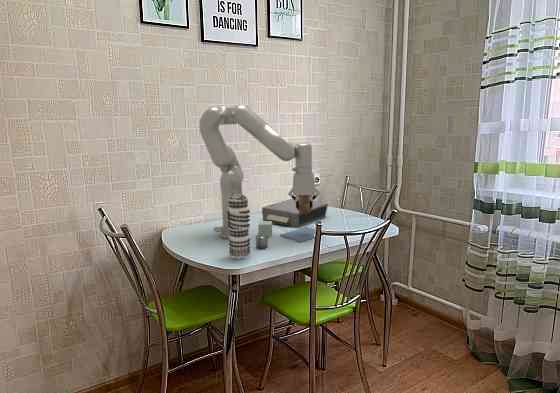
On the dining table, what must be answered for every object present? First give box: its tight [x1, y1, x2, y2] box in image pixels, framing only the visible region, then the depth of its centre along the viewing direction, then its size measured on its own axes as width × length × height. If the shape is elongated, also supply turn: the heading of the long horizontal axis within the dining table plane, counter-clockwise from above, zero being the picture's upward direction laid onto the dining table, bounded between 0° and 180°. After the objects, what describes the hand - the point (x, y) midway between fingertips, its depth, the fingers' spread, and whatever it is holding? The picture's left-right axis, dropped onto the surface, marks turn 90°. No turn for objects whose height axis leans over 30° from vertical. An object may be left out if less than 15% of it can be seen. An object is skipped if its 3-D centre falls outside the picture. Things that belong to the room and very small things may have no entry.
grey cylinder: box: [255, 234, 269, 250], centre depth 178 cm, size 5×5×5 cm
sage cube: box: [257, 220, 273, 238], centre depth 196 cm, size 6×6×6 cm
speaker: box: [261, 198, 329, 229], centre depth 223 cm, size 24×8×30 cm
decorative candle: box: [227, 193, 251, 260], centre depth 167 cm, size 9×9×25 cm
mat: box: [279, 226, 316, 243], centre depth 195 cm, size 18×14×1 cm
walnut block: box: [298, 196, 310, 213], centre depth 192 cm, size 5×5×8 cm
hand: (304, 209), depth 193 cm, fingers closed on walnut block, 5 cm apart
